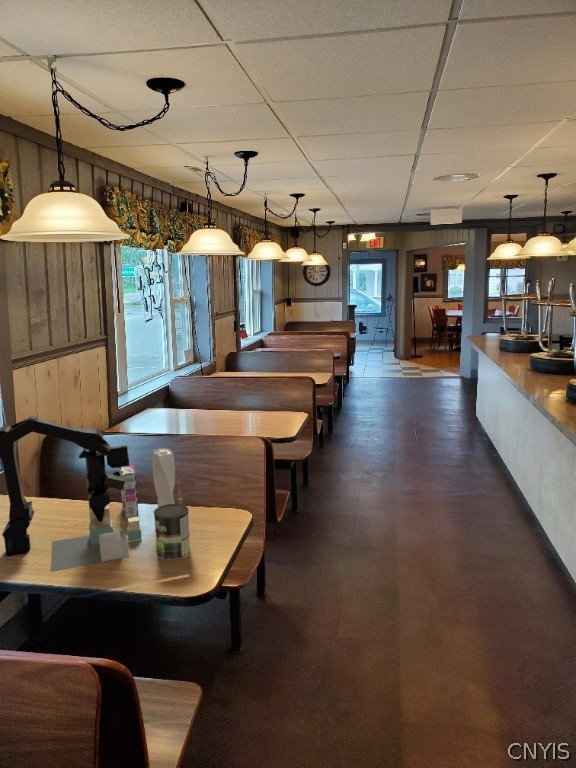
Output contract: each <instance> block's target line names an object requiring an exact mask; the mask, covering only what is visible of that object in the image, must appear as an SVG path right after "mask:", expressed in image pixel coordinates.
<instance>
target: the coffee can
mask: <svg viewBox="0 0 576 768" xmlns="http://www.w3.org/2000/svg"><path fill="white" fill-rule="evenodd" d="M153 516H154V528H155V529H154V530H155V546H156V547H155V548H156V556H157V557H158V558H160V559H163V560H168V561H169V560H170V561H171V560H177V559H181V558H183V559H185V557H186V558H187V557H189V555H190V554H191V546H190V545H191V544H190V543H191V540H190V519H189V507H188V506H187V505H184V504H183V503H182V504H178V503H175V504H168V505H163V506H160V507H158V506H157V508H155V509H154V511H153Z"/></svg>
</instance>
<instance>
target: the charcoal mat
mask: <svg viewBox="0 0 576 768" xmlns="http://www.w3.org/2000/svg"><path fill="white" fill-rule="evenodd" d="M118 531H119V532H120V537H121V546H122V558H119V559H114V560H108V561H101V554H100V544H97V545H91V541H90V534H89V535H83V536H76V537H70V538H64V539H59V540H54V541H51V558H50V572H57V571H62V570H67V569H74V568H80V567H85V566H89V565H96V564H101V563H102V564H103V563H106V562H112V561H118V560H119V561H120V560H123V559H127V558H128V559H129V558H130V553H129V549H128V544H127V539H126V537H125V536H126V535H125V531H124V529H120V530H113V532H118Z"/></svg>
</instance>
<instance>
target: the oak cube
mask: <svg viewBox="0 0 576 768" xmlns="http://www.w3.org/2000/svg"><path fill="white" fill-rule="evenodd" d="M109 504H110V503H109ZM109 504H108V505H107V506H106V507H105V510H104V516H103V521H102V522H99V521H98V519H97V518H96V516H95V514H94V512H93V511H92V509H91V508H90V506H89V505H88V512H89V513H88V514H89V522H90V524H91V530H92V529H98V528H105V527H111V522H110V519H111V513H110V512H111V511H110V505H109Z"/></svg>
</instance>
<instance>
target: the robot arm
mask: <svg viewBox="0 0 576 768" xmlns="http://www.w3.org/2000/svg"><path fill="white" fill-rule="evenodd" d="M31 433H35V434H39V435H44V436H48V437H52V438H56V439H60V440H64V441H67V442H71V443H74V444H75V445H77V446H79V448H82V451H81V452H80V453H79V454H78V458H79V459H85V468H86V469H85V470H86V480H87V481H86V490H87V494H88V497H87V498H88V499H87V500H88V501H87V502H88V507H89V506H90V508H91V509H92V511H93V512H94V514H95V516H96V518H97V519H98V521H99V522H102V521H103V516H104V510H105V507H106V506H107V505H108V504H110V503H111V497H110V493H109V492H108V491H107V490H109V488H110V489H115V490H118V491H121V490H123V487H124V484H125V478H124V477H123V476H120V470H114V471H113V472H112V473H110V474H109V473H108V472H107V471H108V470H107V469H106V464H107V466H109V468H111V469H115V468H116V469H117V468H120V467H128V466H129V465H130V457H129V451H128V444H123V445H119V446H111V445H110V444H109V443H108V441H106V439H105V438H104V435H103V433H102V431H101V430H99V429H97V428H92V427H91V428H89V427H82V428H81V427H73V426H70V425H64V424H60V423H57V422H53V421H50V420H47V419H41V418H39V417H36V416H28V417H27V418H25V419H24V420H21V421H19V422H18V421H17V422H16V423H14V424H13V425H10V426H9V425H5V426H1V427H0V460H1V465H2V468H3V474H4V478H5V484H6V489H7V493H8V498H9V499H8V501H9V514H8V522H7V523H6V525H5V527H4V530H3V532H2V535H1V536H2V537H3V540H4V546H5V547H4V548H5V558H7V557H14V556H18V555H20V556H21V555H26V554H29V551H31V548H32V547H31V546H32V545H31V538H30V534H29V533H28V528H29V527H30V524H31V522H32V520H33V517H34V514H35V511H34V509H33V501H32V500H31V501H27V499H26V497H25V494H24V490H23V483H22V478H21V474H20V468H19V463H18V457H17V451H18V450H17V449H18V448H17V447H18V440H20V439H22V438H24V437H25V436H27V435H28V434H31ZM105 457H106V458H105Z"/></svg>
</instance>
